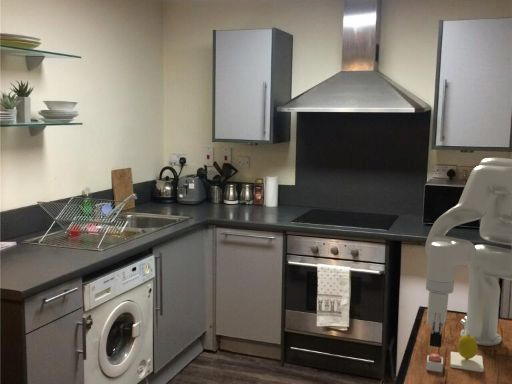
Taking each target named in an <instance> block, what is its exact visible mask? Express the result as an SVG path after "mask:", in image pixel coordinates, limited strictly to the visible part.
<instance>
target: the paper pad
mask: <svg viewBox="0 0 512 384" xmlns="http://www.w3.org/2000/svg"><path fill="white" fill-rule="evenodd" d="M483 362H484V360H483V355H478V354H476V355H475V356H474V357H473V358H470V359H468V360H466V359H465V358H463V357H462V356H461V355H460V354H459V352H458V351H457V352H456V351H450V368H454V369H459V370H460V369H461V370H466V371H472V372H480V373H484V363H483Z"/></svg>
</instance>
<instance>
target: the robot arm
mask: <svg viewBox="0 0 512 384" xmlns="http://www.w3.org/2000/svg"><path fill="white" fill-rule="evenodd" d="M477 220H480V224H479V236H480V238H482V239H483V240H485V241H489V242H492V243H496V244H497V243H498V244H503V245H509V246H511V247H512V158H507V157H506V158H505V157H487V158H483V159H482V160H480V162H479V165H478V166H476V167H474V168H473V169H472V170H471V172H470V174H469V176H468V178H467V182H466V184H465V186H464V188H463V190H462V194H461V195H460V198H459V201H458V203H457V204H456V205H455V206H453V207H451V208H450V209H448V210H447V211H445V212H444V213H443V214H442V215H440V216H439V217H438V218H437V219H436V220H435V221H434V223H433V225H432V226H431V229H430V231H429V233H428V236H427V239H426V241H425V247H424V250H425V255H426V256H427V266H426V268H427V269H426V281H425V282H426V283H425V290H426V291H428V297H427V298H428V300H427V313H426V325H427V326H431V330H430V334H429V346H430V347H434V348H442V339H443V332H442V328H445V324H446V319H447V313H448V306H449V305H448V303H449V295H450V294H452V293H454V285H455V284H454V283H455V274H456V273H455V272H456V267H464V266H468V277H469V278H468V279H469V280H468V294H467V295H468V297H467V308H466V309H467V310H466V316H465V317H464V318H463V319H461V320H460V322H459V323H460V324H462V325H463V326H464V328H463V329H461V331H460V333H459V334H460V338H461V337H462V336H464V335H467V334H469V335H470V336H472V337H474V339H475V340H476V342H477V346H490V347H491V346H497V345H499V344H500V343H501V342H502V337H501V335H500V334H499V333H497V332H498V322H499V307H500V296H501V288H500V284H499V282H498V279H497V278H499V279H503V280H509V281H512V248H511V249H510V248H504V247H500V246H495V245H490V244H476V245H475V244H474V243H472V241H469V240H468V239H467V240H466V239H462V238H456V237H452V236H447V235H446V234H447V233H448V232H449V231H450V230H451V229H453V228H454V227H457V226H459V225H463V224H466V223H470V222H474V221H477Z"/></svg>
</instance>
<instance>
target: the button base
mask: <svg viewBox="0 0 512 384" xmlns="http://www.w3.org/2000/svg"><path fill="white" fill-rule="evenodd" d="M426 358H427V359H426V371H431V372H438V373H443V370H444V369H443V367H444V357H442V356H440V362H439V363H437V362H431V361H430V355H429V354H428V355H427V357H426Z"/></svg>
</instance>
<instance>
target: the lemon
mask: <svg viewBox="0 0 512 384" xmlns="http://www.w3.org/2000/svg"><path fill="white" fill-rule="evenodd" d="M457 352H458V353H459V354H460V355H461V356H462V357H463V358H465V359H466V360H468V359H470V358H473V357H474V356H475V355H477V353H478V344H477V342H476V340H475V339H474V337H472V336H470V335H469V334H467V335H464V336H462V337H461V336H460V338H459V340H458V343H457Z"/></svg>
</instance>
